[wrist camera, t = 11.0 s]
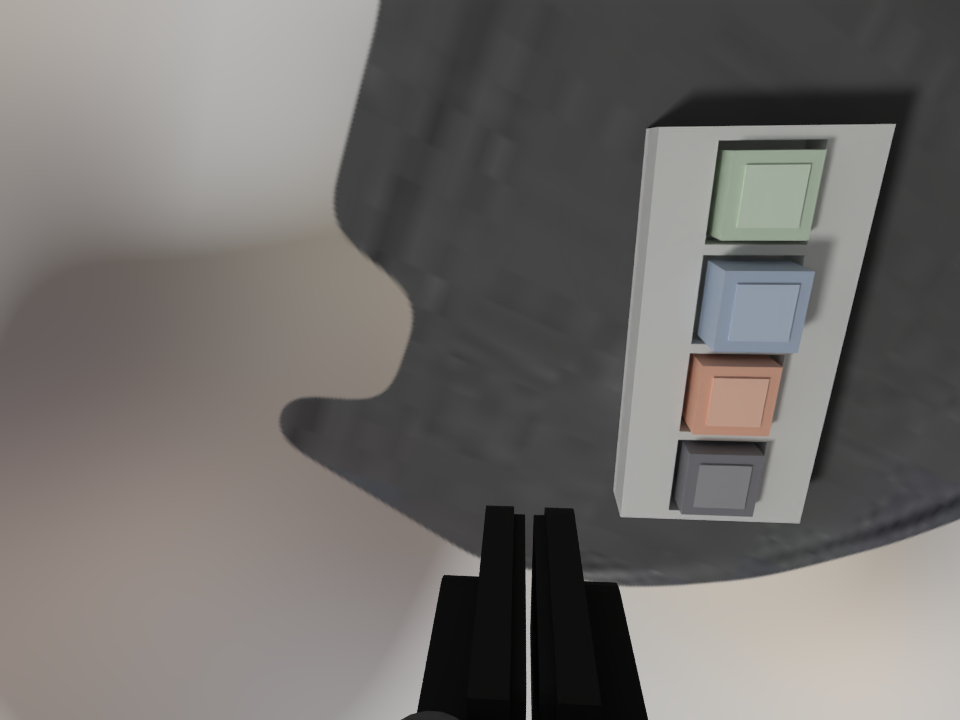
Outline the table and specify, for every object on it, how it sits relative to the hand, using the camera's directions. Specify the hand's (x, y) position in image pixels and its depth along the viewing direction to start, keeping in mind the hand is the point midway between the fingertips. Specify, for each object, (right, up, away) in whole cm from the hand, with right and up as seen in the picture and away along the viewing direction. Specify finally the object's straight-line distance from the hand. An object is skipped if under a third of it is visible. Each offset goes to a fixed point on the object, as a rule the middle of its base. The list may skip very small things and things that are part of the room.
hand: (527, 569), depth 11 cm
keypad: (+15, +6, +26) cm, 30 cm away
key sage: (+15, +14, +21) cm, 29 cm away
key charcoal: (+15, -3, +28) cm, 32 cm away
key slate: (+15, +8, +22) cm, 28 cm away
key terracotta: (+15, +3, +26) cm, 30 cm away
